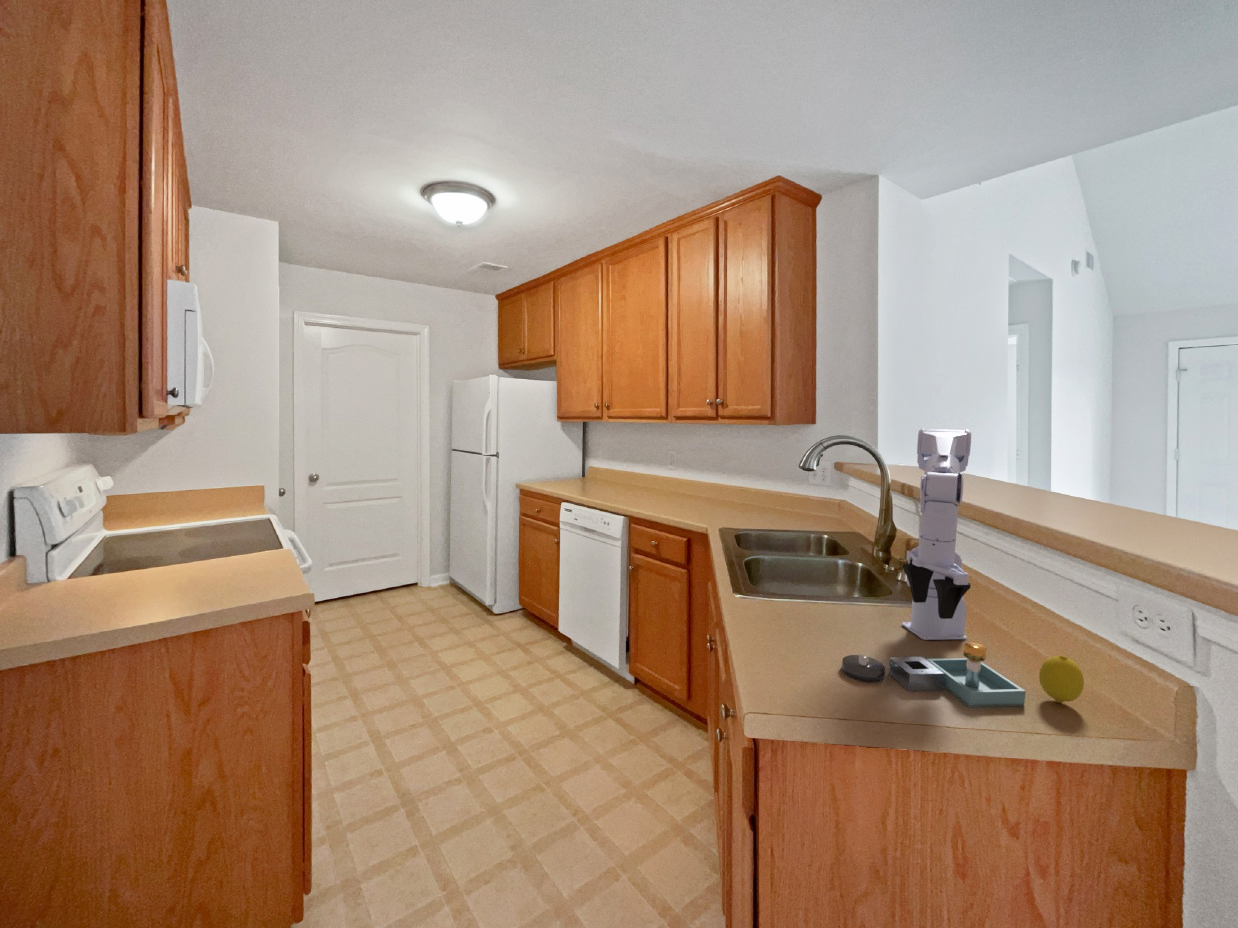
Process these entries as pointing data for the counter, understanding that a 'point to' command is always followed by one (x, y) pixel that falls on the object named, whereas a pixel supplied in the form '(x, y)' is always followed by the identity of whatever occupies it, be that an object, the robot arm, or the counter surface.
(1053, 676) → the lemon
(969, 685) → the lock pin
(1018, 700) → the tray
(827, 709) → the counter surface
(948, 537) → the robot arm
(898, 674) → the dark disc and block
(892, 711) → the counter surface
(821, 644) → the counter surface
